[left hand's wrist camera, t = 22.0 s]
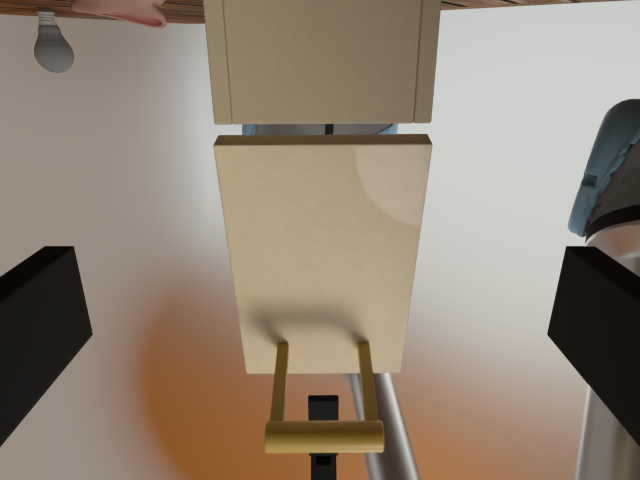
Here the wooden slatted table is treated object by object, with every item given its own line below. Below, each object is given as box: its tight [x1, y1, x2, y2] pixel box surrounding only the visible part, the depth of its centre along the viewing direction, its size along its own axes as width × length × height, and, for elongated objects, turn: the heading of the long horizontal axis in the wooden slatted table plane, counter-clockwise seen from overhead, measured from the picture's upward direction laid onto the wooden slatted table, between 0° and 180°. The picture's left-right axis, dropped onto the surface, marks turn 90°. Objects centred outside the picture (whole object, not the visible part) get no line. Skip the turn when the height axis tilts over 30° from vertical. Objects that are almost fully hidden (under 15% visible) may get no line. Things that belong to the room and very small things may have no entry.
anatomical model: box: [71, 0, 167, 28], centre depth 51 cm, size 13×4×12 cm
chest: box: [203, 0, 441, 125], centre depth 26 cm, size 15×10×10 cm
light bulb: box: [34, 9, 74, 73], centre depth 78 cm, size 6×6×10 cm
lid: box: [214, 134, 432, 453], centre depth 23 cm, size 16×10×8 cm
